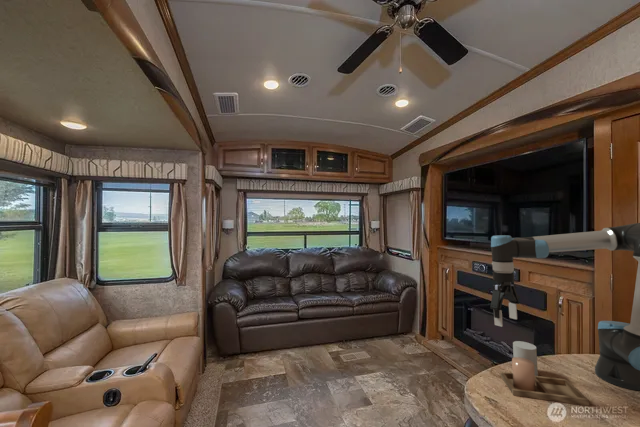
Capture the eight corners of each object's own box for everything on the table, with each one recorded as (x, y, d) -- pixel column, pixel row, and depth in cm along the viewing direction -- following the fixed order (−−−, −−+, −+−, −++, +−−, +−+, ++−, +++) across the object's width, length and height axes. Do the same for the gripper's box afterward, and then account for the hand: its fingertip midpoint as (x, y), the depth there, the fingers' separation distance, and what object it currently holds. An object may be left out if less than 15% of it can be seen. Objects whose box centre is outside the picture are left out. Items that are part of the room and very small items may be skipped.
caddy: (566, 385, 106) (566, 379, 107) (589, 407, 94) (588, 400, 94) (500, 377, 113) (500, 371, 113) (513, 396, 100) (513, 390, 101)
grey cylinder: (542, 379, 111) (540, 350, 111) (520, 377, 113) (518, 348, 113) (531, 369, 119) (529, 341, 119) (510, 367, 121) (509, 340, 121)
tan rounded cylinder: (530, 383, 107) (529, 358, 108) (539, 394, 101) (537, 367, 101) (510, 381, 109) (509, 356, 110) (517, 391, 103) (516, 364, 103)
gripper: (506, 267, 124) (509, 313, 123) (478, 274, 111) (481, 326, 110) (525, 269, 118) (529, 318, 117) (498, 276, 105) (502, 331, 104)
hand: (506, 322), depth 113 cm, fingers open, 13 cm apart
